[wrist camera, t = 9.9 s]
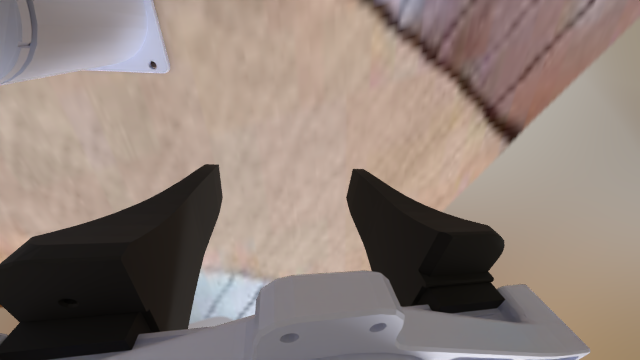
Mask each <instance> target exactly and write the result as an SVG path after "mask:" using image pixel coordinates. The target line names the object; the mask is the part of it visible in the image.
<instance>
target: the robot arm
mask: <svg viewBox="0 0 640 360" xmlns="http://www.w3.org/2000/svg"><path fill="white" fill-rule="evenodd" d="M151 61H153V62H155V63H156V65H157V68H156V69H155V68H153V67H152V66H151ZM81 70H93V71H118V72H144V73H166V72H168V71H169V70H170V63H169V60H168V56H167V52H166V48H165V44H164V40H163V37H162V33H161V29H160V25H159V21H158V17H157V13H156V10H155V6H154V2H153V0H0V85H5V84H11V83H16V82H22V81H27V80H32V79H38V78H43V77H48V76H54V75H59V74H65V73H70V72H75V71H81ZM222 198H223V197H222V189H221V180H220V172H219V165H209V164H206V165H204V166H202V167H201V168H199V169H198V170H196V171H195V172H193V173H192V174H190V175H189V176H187V177H186V178H184V179H183V180H181V181H180V182H178V183H176V184H175V185H173V186H171V187H170V188H168V189H166V190H165V191H163V192H161V193H159V194H157V195H155V196H153V197H151V198H149V199H147V200H145V201H143V202H141V203H139V204H136V205H134V206H131V207H129V208H126V209H124V210H121V211H119V212H116V213H114V214H111V215H108V216H105V217H102V218H99V219H96V220H93V221H90V222H87V223H84V224H80V225H77V226H73V227H70V228H66V229H62V230H58V231H54V232H51V233H47V234H43V235H39V236H35V237H32V238H30V239H29V240H28V241H27V242H26V243H24V244H23V245H22V246H21V247H20V248H18V249H17V250H16V251H15V252H14V253H13V254H11V255H10V256H9V257H8V258H7V259H5V260H4V261H3V262H2V263H1V264H0V304H1V305H2V306H3V307H4V308H5V309H6V310H7V311H8V312H9V313H10V314H11V315H12V316H14V317H15V318H16V319H17V320H18V321H19V322H20V323H19V324H18V325H17V327H16V328H15V329H14V330H13V331H12V332H11V333H10V334H9V335H7V334H2V333H0V360H579V359H580V358H582V357H583V356H585V355H587V354H588V353H590V348H589V347H588V346H586V344H585V343H584V342H583V341H582V340H581V339H580V338H579V337H578V336H577V335H576V334H575V333H573V331H572V330H571V329H570V328H569V327H568V326H566V324H565V323H564V322H563V321H562V320H561V319H560V318H558V316H557V315H556V314H555V313H553V312H552V310H550V308H549V307H548V306H547V305H546V304H545V303H544V302H543V301H542V300H541V299H540V298H539V297H538V296H537V295H536V294H535V293H534V292H533V291H532V290H531V289H530V288H529V287H527V285H525V284H518V285H507V286H502V287H500V288H498V289H496V288H495V287H494V286H493V285H492V283H491V282H492V281H493V280H494V278H493V277H492V275H491V274H490V273H489V272H488V271H489V270H490V268H491V267H492V266H493V264H494V263H495V262H496V261H497V259H498V258H499V257H500V255H501V254H502V252H503V249H504V240H503V239H502V237H501V236H500V235H499V234H498V233H496V232H495V231H494V230H493V229H492V228H491V227H489V226H488V225H484V224H480V223H476V222H472V221H468V220H464V219H461V218H458V217H454V216H452V215H449V214H446V213H443V212H440V211H438V210H435V209H433V208H430V207H428V206H425V205H423V204H421V203H419V202H417V201H415V200H413V199H411V198H409V197H407V196H405V195H403V194H402V193H400V192H398V191H397V190H395V189H393V188H392V187H390V186H389V185H387V184H386V183H384V182H383V181H381V180H380V179H378V178H377V177H375V176H374V175H372V174H371V173H369V172H367V171H366V170H364V169H353V171H352V176H351V180H350V184H349V189H348V193H347V197H346V198H347V202H348V207H349V210H350V213H351V216H352V218H353V221H354V223H355V225H356V228H357V230H358V232H359V235H360V237H361V239H362V242H363V244H364V247H365V249H366V253H367V256H368V259H369V263H370V266H371V270H372V271H349V272H334V273H318V274H303V275H291V276H287V277H282V278H278V279H275V280H274V281H272V282H271V283H269V284H268V285H266V286H265V287H263V288H262V289H261V290H260V292H259V295H258V297H257V299H256V311H255V315H252V316H248V317H245V318H242V319H238V320H235V321H231V322H228V323H224V324H221V325H218V326H214V327H204V328H194V329H188V325H189V320H190V315H191V310H192V305H193V300H194V295H195V291H196V286H197V282H198V277H199V273H200V269H201V265H202V261H203V257H204V254H205V251H206V248H207V245H208V243H209V240H210V237H211V235H212V232H213V229H214V227H215V224H216V221H217V218H218V216H219V212H220V208H221V203H222Z"/></svg>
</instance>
